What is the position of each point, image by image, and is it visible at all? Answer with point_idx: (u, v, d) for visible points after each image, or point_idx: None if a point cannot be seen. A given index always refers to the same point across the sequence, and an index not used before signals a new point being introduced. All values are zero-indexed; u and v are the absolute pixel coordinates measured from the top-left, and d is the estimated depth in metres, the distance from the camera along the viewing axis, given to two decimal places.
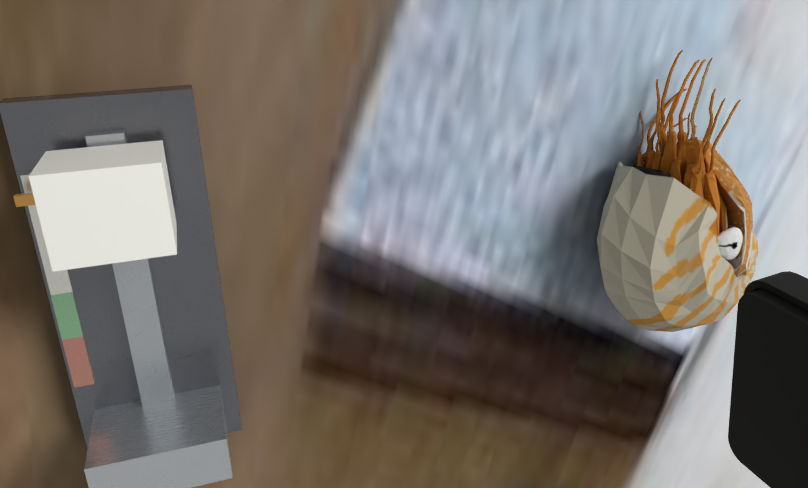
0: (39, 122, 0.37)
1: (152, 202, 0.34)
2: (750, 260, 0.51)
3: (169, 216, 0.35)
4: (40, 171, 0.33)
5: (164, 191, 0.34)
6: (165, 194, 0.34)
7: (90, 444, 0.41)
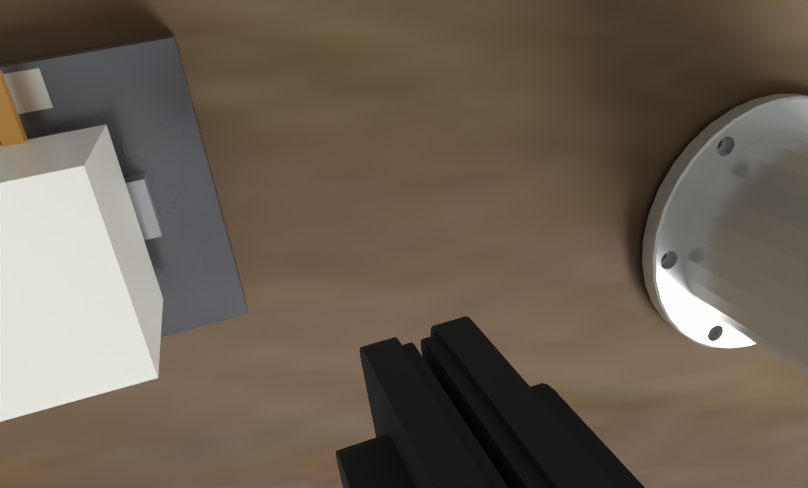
0: (151, 100, 0.21)
1: (69, 376, 0.17)
2: None
3: (44, 407, 0.17)
4: (93, 174, 0.16)
5: (98, 391, 0.18)
6: (92, 393, 0.18)
7: None
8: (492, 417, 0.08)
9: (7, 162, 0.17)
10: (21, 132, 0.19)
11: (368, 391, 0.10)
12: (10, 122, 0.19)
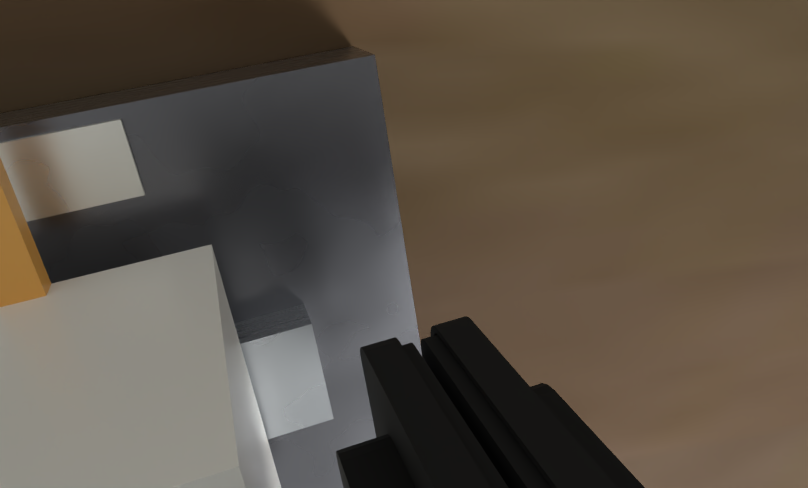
0: (324, 174, 0.11)
1: None
2: None
3: None
4: (243, 451, 0.06)
5: None
6: None
7: None
8: (492, 417, 0.08)
9: (11, 394, 0.07)
10: (38, 275, 0.09)
11: (368, 391, 0.10)
12: (15, 256, 0.09)
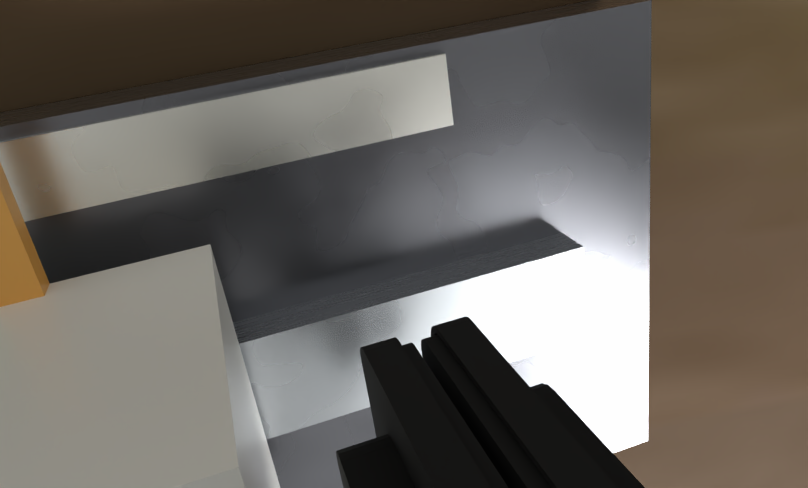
0: (595, 111, 0.12)
1: None
2: None
3: None
4: (242, 452, 0.06)
5: None
6: None
7: None
8: (492, 417, 0.08)
9: (9, 395, 0.07)
10: (36, 275, 0.09)
11: (368, 391, 0.10)
12: (12, 256, 0.09)
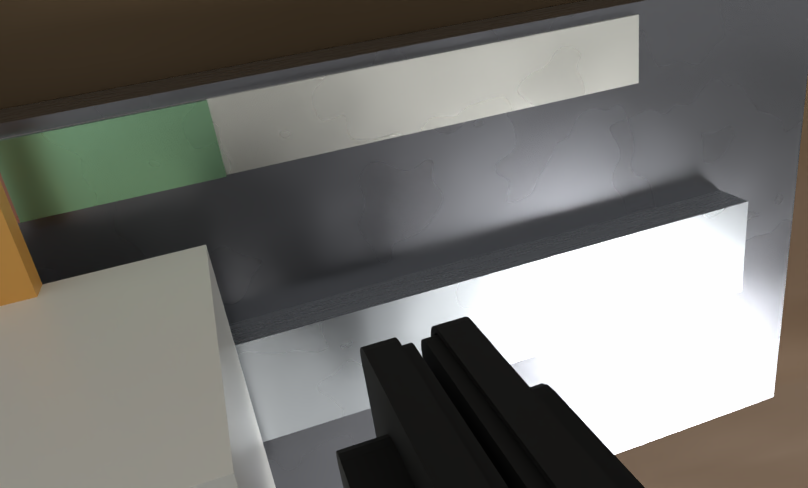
0: (760, 73, 0.13)
1: None
2: None
3: None
4: (238, 457, 0.06)
5: None
6: None
7: None
8: (492, 417, 0.08)
9: None
10: (29, 275, 0.09)
11: (368, 391, 0.10)
12: (5, 256, 0.08)
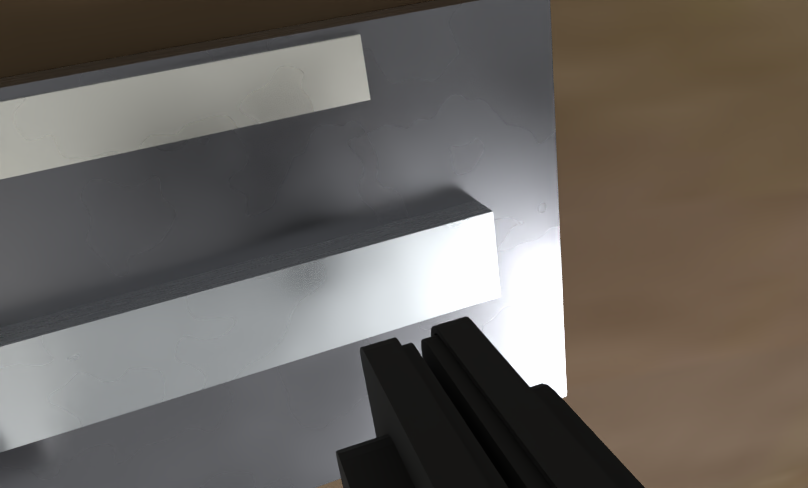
0: (502, 88, 0.14)
1: None
2: None
3: None
4: None
5: None
6: None
7: None
8: (492, 417, 0.08)
9: None
10: None
11: (368, 391, 0.10)
12: None
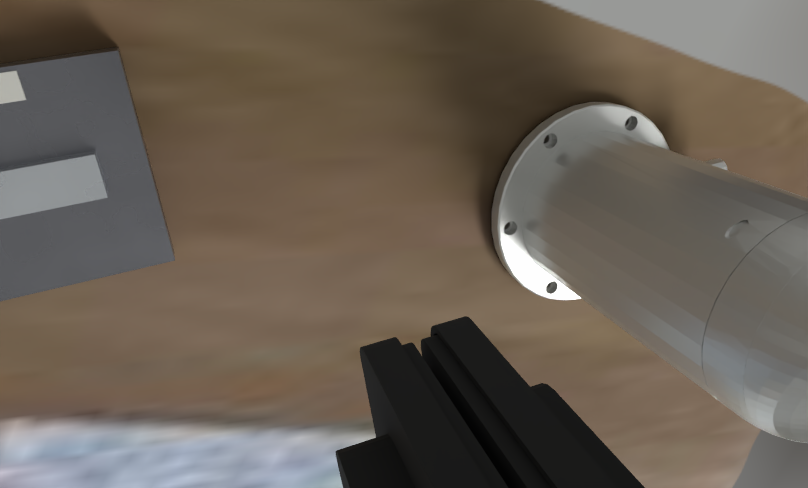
0: (100, 96, 0.29)
1: None
2: None
3: None
4: None
5: None
6: None
7: None
8: (492, 417, 0.08)
9: None
10: None
11: (368, 391, 0.10)
12: None
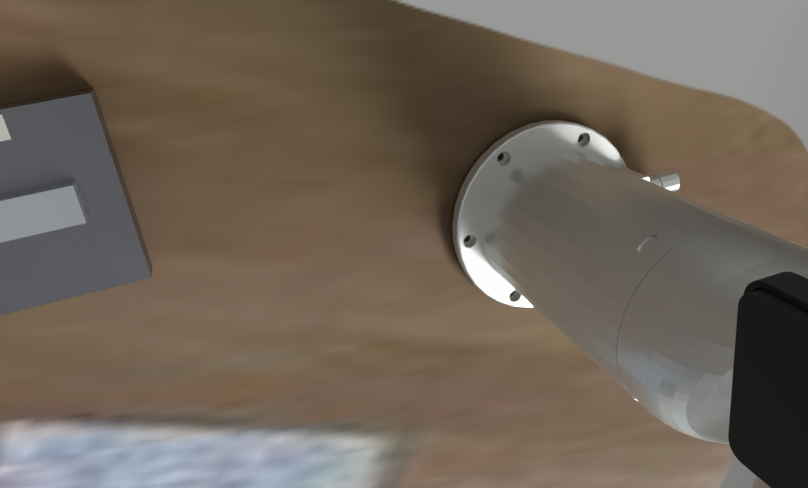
0: (77, 133, 0.33)
1: None
2: None
3: None
4: None
5: None
6: None
7: None
8: None
9: None
10: None
11: None
12: None
